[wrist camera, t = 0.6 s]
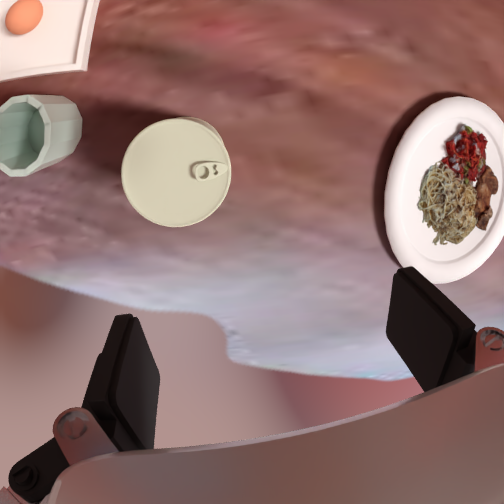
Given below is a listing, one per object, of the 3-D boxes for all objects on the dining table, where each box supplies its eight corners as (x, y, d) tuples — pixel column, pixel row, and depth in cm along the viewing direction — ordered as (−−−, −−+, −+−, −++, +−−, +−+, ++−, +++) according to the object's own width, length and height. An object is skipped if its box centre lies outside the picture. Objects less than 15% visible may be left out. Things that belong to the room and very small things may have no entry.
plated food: (397, 307, 49) (406, 318, 46) (351, 127, 37) (363, 129, 33) (513, 235, 48) (524, 242, 45) (496, 81, 35) (510, 82, 32)
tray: (-1, -15, 20) (-8, -18, 18) (111, -42, 23) (107, -47, 21) (-23, 87, 26) (-30, 87, 25) (86, 71, 29) (81, 69, 28)
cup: (28, 99, 29) (-9, 100, 21) (84, 94, 30) (53, 91, 23) (26, 162, 32) (-10, 177, 25) (80, 161, 34) (50, 175, 26)
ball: (22, 6, 23) (3, -2, 18) (53, -1, 24) (36, -12, 19) (14, 40, 25) (-6, 35, 20) (45, 34, 25) (26, 26, 21)
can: (229, 188, 38) (238, 221, 27) (152, 200, 37) (131, 237, 26) (220, 111, 34) (225, 110, 23) (140, 124, 33) (110, 130, 22)
